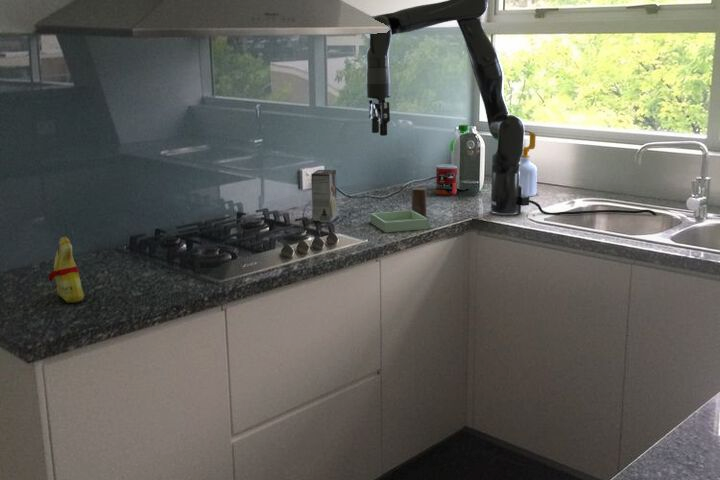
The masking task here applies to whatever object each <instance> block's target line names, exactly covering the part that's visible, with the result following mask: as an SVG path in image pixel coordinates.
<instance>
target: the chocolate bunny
mask: <svg viewBox="0 0 720 480" xmlns="http://www.w3.org/2000/svg"><path fill="white" fill-rule="evenodd" d="M74 259H75V258H74V256H73V245H72V243H71V241H70V239H69V238H68V237H67V236H63V237H62V236H61V238H60V239H59V243H58V249H57V251H56V253H55V256H54V260H53V270H51V271H50V274H49V275H48V280H49V282H52V281H53V280H55V283H56V284H55V285H56V289H57V292H56V293H57V294H58V296H59V297H60V298H62V299H63V300H64V301H65V302H66V303H67V304H76V303H80V302H81V301H83V300H84V298H85V295H84V291H83V288H82V281H81V277H80V273H79V272H80V270H79V266H77V264H76V262H75V260H74Z"/></svg>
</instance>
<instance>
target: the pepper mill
mask: <svg viewBox="0 0 720 480" xmlns="http://www.w3.org/2000/svg"><path fill="white" fill-rule="evenodd" d="M411 210H413V211H415V212H417V213H418V214H420V215H422V216H424V217H426V218H427V187H421V186H420V187H419V186H417V187H412V188H411Z"/></svg>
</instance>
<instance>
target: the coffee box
mask: <svg viewBox="0 0 720 480" xmlns="http://www.w3.org/2000/svg"><path fill="white" fill-rule="evenodd" d="M310 174H311V176H310V177H311V208H312V221H313V220H316V219H318V220H320V221H321V222H320V223H332V222H333V221H334V220H335V219H336V218H337V217H338V201H337V200H338V199H337V198H338V197H337V195H338V194H337V169H318V170H315V171H314V172H312V173H310Z"/></svg>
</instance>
